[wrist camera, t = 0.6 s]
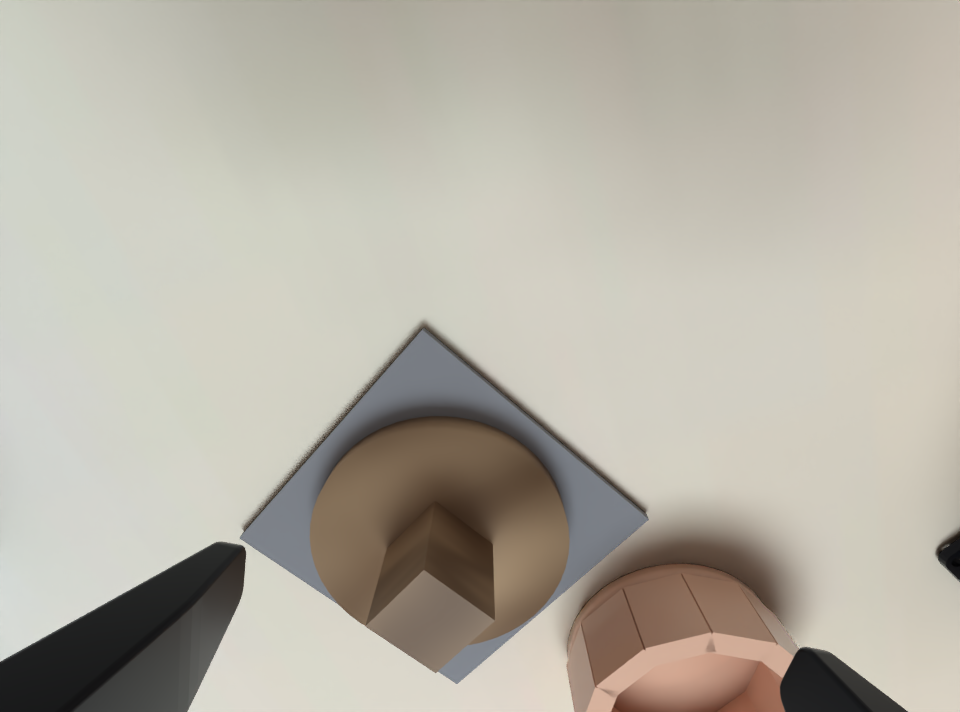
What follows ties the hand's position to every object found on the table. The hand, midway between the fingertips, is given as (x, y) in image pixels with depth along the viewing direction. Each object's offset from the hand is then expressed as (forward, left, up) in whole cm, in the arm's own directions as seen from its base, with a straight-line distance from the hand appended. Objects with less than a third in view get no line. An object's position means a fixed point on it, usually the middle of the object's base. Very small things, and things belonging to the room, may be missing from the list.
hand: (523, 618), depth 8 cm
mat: (-3, +7, -13) cm, 15 cm away
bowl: (-16, +5, -13) cm, 21 cm away
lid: (-3, +7, -13) cm, 15 cm away
